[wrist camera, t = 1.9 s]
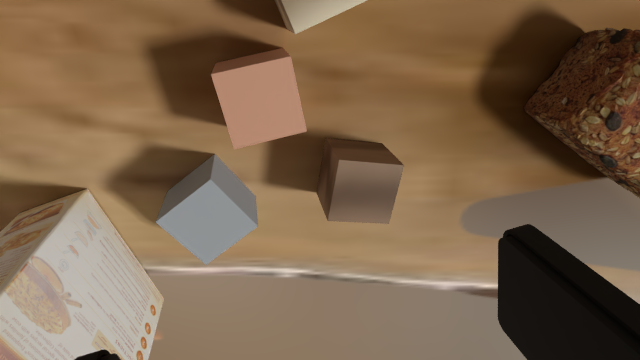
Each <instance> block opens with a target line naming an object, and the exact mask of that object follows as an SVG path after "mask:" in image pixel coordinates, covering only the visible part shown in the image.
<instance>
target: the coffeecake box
mask: <svg viewBox="0 0 640 360" xmlns="http://www.w3.org/2000/svg"><path fill="white" fill-rule="evenodd" d="M163 301H164V298H163V296H162V295H161V294H160V292H159V291H158V289H157V288H156V286H155V285H154V283H153V282H152V280H151V279H150V278H149V276H148V275H147V273H146V272H145V270H144V269H143V267H142V266H141V265H140V263H139V262H138V260H137V259H136V257H135V256H134V255H133V253H132V252H131V250H130V249H129V248H128V246H127V245H126V243H125V242H124V240H123V239H122V237H121V236H120V234H119V233H118V232H117V230H116V229H115V227H114V226H113V225H112V223H111V222H110V220H109V219H108V217H107V216H106V214H105V213H104V212H103V210H102V209H101V207H100V206H99V204H98V203H97V202H96V200H95V199H94V197H93V196H92V194H91V193H90V192H89V190H88V189H85V190H82V191H80V192H77V193H74V194H71V195H68V196H65V197H63V198H60V199H57V200H54V201H52V202H49V203H46V204H44V205H40V206H38V207H35V208H32V209H30V210H27V211H24V212H22V213H19V214H18V215H17V216H16V217H15V218H14V219H13V220H12V221H11V222H10V223H9V224H8V225H7V226H6V227H5V228H4V229H3V230H2V231H0V360H74V359H76V358H77V357H79V356H83V355H86V354H89V353H93V352H96V351H100V350H104V349H105V350H107V351H109V352H110V354H113V353H115V354H117V355H118V356H119V357H120V359H121V360H148V358H149V354H150V350H151V347H152V343H153V339H154V335H155V331H156V327H157V323H158V320H159V315H160V312H161V308H162V305H163Z"/></svg>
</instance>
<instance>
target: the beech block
mask: <svg viewBox="0 0 640 360" xmlns="http://www.w3.org/2000/svg"><path fill="white" fill-rule="evenodd" d="M365 1H367V0H275V3H276V5H277V7H278V10H279V12H280V14H281V17H282V19H283V21H284V24H285V26H286V28H287V29H288V30H289V31H291V32H293V33H294V34H297V33H299V32H301V31H303V30H305V29H307V28H310V27H312V26H314V25H316V24H318V23H320V22H322V21H324V20H327V19H329V18H331V17H333V16H335V15H337V14H339V13H341V12H343V11H346V10H348V9H350V8H352V7H354V6H356V5H358V4H360V3H363V2H365Z"/></svg>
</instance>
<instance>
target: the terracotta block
mask: <svg viewBox="0 0 640 360" xmlns="http://www.w3.org/2000/svg"><path fill="white" fill-rule="evenodd" d="M211 76H212V79H213V83H214V86H215V89H216V92H217V95H218V99H219V102H220V105H221V108H222V112H223V115H224V118H225V121H226V124H227V128H228V131H229V134H230V137H231V140H232V144H233V147H234V149H237V148H241V147H245V146H250V145H254V144H258V143H262V142H266V141H270V140H274V139H278V138H282V137H286V136H291V135H295V134H299V133H303V132H307V130H306V125H305V120H304V116H303V111H302V107H301V102H300V97H299V93H298V88H297V83H296V79H295V74H294V69H293V65H292V60H291V56H290V55H289V54H288V53H287V52H286V51H285V50H284V49H283V48H280V49H276V50H271V51H267V52H262V53H258V54H253V55H249V56H244V57H240V58H236V59H231V60H227V61H222V62H218V63H215V66H214V68H213V71H212V73H211Z"/></svg>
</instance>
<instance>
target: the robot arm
mask: <svg viewBox="0 0 640 360" xmlns="http://www.w3.org/2000/svg"><path fill="white" fill-rule="evenodd" d="M498 320H499V323H500V325H501V327H502V329H503V331H504V332H505V333H506V334H507V336H508V337H509V338H510V339H511V340H512V341H513V343H514V344H515V345H516V347H517V348H518V349H519V350H520V351H521V352H522V354H523V355H524V356H525V357H526V358H527V360H640V304H638V303H637V302H636V301H634V300H633V299H632V298H630V297H629V296H627V295H626V294H625V293H623V292H622V291H621V290H619V289H618V288H617V287H615V286H614V285H613V284H611V283H610V282H608V281H607V280H606V279H604V278H603V277H602V276H600V275H599V274H598V273H596V272H595V271H594V270H592V269H591V268H590V267H588V266H587V265H585V264H584V263H583V262H581V261H580V260H579V259H577V258H576V257H575V256H573V255H572V254H571V253H569V252H568V251H566V250H565V249H564V248H562V247H561V246H560V245H558V244H557V243H556V242H554V241H553V240H552V239H550V238H549V237H548V236H546V235H545V234H543V233H542V232H541V231H539V230H538V229H537V228H535V227H534V226H532V225H529V224H527V225H523V226H519V227H516V228H513V229H510V230H507V231H505V232H504V234H503V238H501V239H500V240H499V243H498ZM74 360H121V359H120V357H119V356H118V355H117V354H115V353H113V354H110V352H109V351H107V350H105V349H104V350H100V351H96V352H93V353H89V354H86V355H83V356H79V357H77V358H76V359H74Z"/></svg>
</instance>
